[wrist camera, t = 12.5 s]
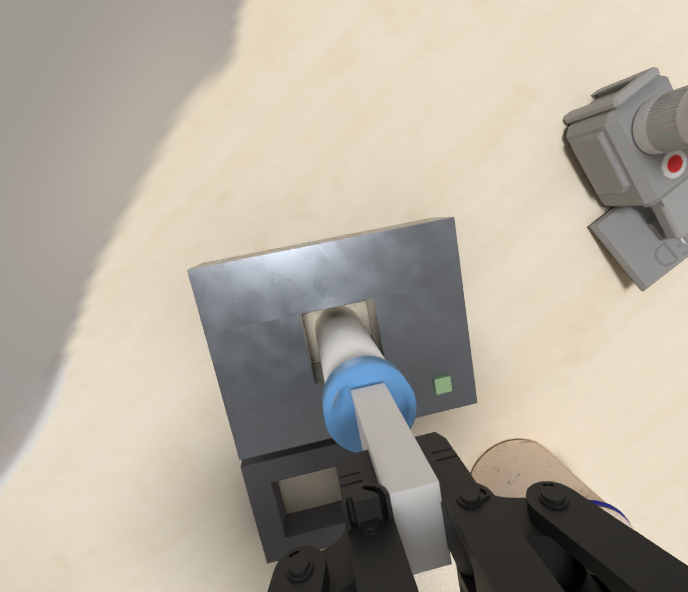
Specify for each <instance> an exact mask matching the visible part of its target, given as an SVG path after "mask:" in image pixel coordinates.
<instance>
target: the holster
mask: <svg viewBox="0 0 688 592" xmlns="http://www.w3.org/2000/svg"><path fill="white" fill-rule="evenodd" d="M352 453H355V452H352V451H349V450H347V449H345V448H343V447H342V446H340V445H339V444H338V443H337V442H335V440H334V439H333V438H330V439H326V440H322V441H317V442H313V443H309V444H305V445H301V446H297V447H292V448H288V449H284V450H280V451H276V452H272V453H268V454H263V455H259V456H255V457H251V458H247V459H243V460H242V463H241V470H242V474H243V477H244V481H245V485H246V488H247V492H248V495H249V499H250V503H251V506H252V510H253V514H254V517H255V521H256V524H257V528H258V532H259V535H260V539H261V542H262V546H263V550H264V553H265V557H266V561H267V563H271V562H275V561H279V560H280V559H281V558H282V557H283V556H284V555H285V554H286V553H287V552H288V551H290V550H292V549H294V548H295V547H300V546H304V545H308V546H314V547H316V548H318V549H319V550H320V549H324V548H328V547H329V546H331V545H332V544H334V543H335V542H336V541H337V540H338V539H339V538H340V537H341V535H342V533H343V532H344V529H345V526H346V524H345V520H344V515H343V511H342V506H341V504H342V501H339V502H335V503H331V504H327V505H323V506H319V507H316V508H312V509H308V510H304V511H300V512H296V513H292V514H288V515H286V513H285V509H284V505H283V501H282V497H281V493H280V489H279V485H278V481H279V480H283V479H287V478H291V477H295V476H299V475H303V474H307V473H311V472H315V471H319V470H323V469H327V468H331V467H335V466H336V467H337V465H338V462H339V460H340V457H341V456H344V455H348V454H352Z"/></svg>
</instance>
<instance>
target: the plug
mask: <svg viewBox="0 0 688 592" xmlns="http://www.w3.org/2000/svg"><path fill="white" fill-rule="evenodd" d="M315 332H316V337H317V343H318V348H319V354H320V359H321V365H322V370H323V376H324V381H325V385H324V388H323V392H322V405H323V412H324V418H325V424H326V427H327V430H328V432H329V434H330V435H331V437H332V438H333V439H334V440H335V442H337V443H338V444H339V445H340V446H342V447H343V448H345V449H347V450H349V451H352V452H355V453H356V452H360V451H363V448H362V445H361V440H360V435H359V430H358V425H357V419H356V414H355V409H354V404H353V399H352V394H351V390H355V389H359V388H364V387H368V386H372V385H376V384H381V383H385V385H386V387H387V389H388V390H389V392H390V394H391V396H392V398H393V399H394V401H395V403H396V405H397V407H398V409H399V410H400V412H401V414H402V416H403V418H404V419H405V421H406V423H407V425H408V427H409V428H410V429H411V427H412V425H413V423H414V420H415V416H416V408H417V406H416V398H415V395H414V392H413V390H412V388H411V386H410V385H409V383H408V382H407V380H406V379H405V377H404V376H403V375H402V373H401V372H400V371H399V369H398V368H397V367H396V366H395V365H394V364H392V363H391V362H389V361H388V360H386V359H385V358H384V357H383V355H382V354H381V352H380V351H379V349H378V347H377V346H376V344H375V343H374V341H373V340H372V338H371V337H370V335H369V334H368V332H367V330H366V329H365V327H364V326H363V324H362V323H361V321H360V320H359V318H358V316H357V315H356V314H355V312H354V311H353V310H351V309H350V308H348V307H346V306H342V305H341V306H337V307H332V308H327V309H325V310H323V311H322V312H321V313H320V315H319V316H318V318H317V320H316V324H315Z"/></svg>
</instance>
